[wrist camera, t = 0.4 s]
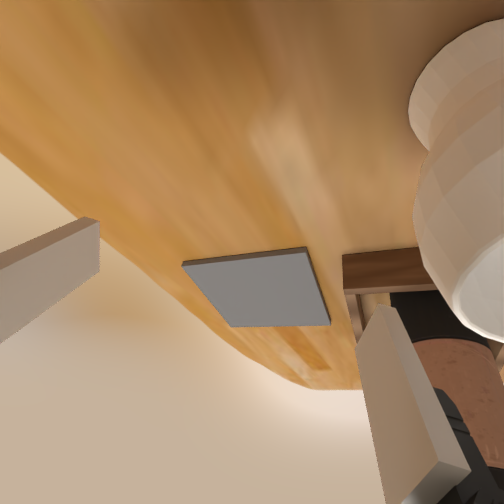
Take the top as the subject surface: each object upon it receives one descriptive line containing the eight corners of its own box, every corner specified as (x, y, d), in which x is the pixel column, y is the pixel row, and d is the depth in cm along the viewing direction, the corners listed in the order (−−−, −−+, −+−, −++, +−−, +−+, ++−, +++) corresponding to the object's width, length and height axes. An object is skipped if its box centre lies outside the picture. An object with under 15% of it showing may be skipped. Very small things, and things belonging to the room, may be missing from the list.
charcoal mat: (183, 261, 38) (181, 266, 38) (306, 246, 32) (305, 252, 32) (232, 322, 49) (231, 327, 48) (330, 320, 43) (331, 325, 42)
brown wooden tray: (342, 255, 32) (343, 289, 29) (528, 235, 26) (552, 276, 23) (362, 344, 47) (364, 373, 44) (484, 345, 41) (496, 378, 38)
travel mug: (474, 288, 33) (569, 535, 20) (404, 306, 37) (444, 515, 25) (446, 250, 29) (538, 519, 16) (373, 276, 34) (400, 499, 21)
